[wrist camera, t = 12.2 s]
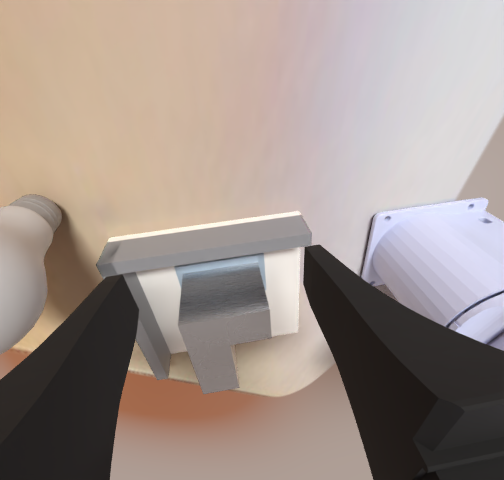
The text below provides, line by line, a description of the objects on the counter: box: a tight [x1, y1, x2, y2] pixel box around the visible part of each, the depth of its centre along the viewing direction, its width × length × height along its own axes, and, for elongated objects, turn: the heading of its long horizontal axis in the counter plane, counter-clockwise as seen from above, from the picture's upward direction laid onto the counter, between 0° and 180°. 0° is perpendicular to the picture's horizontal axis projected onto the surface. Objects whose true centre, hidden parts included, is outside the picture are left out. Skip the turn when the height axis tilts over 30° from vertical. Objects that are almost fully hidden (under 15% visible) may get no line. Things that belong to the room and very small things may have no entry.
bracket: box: [178, 262, 272, 394], centre depth 23 cm, size 9×6×5 cm, turn 5°
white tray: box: [96, 211, 312, 380], centre depth 23 cm, size 14×14×3 cm
